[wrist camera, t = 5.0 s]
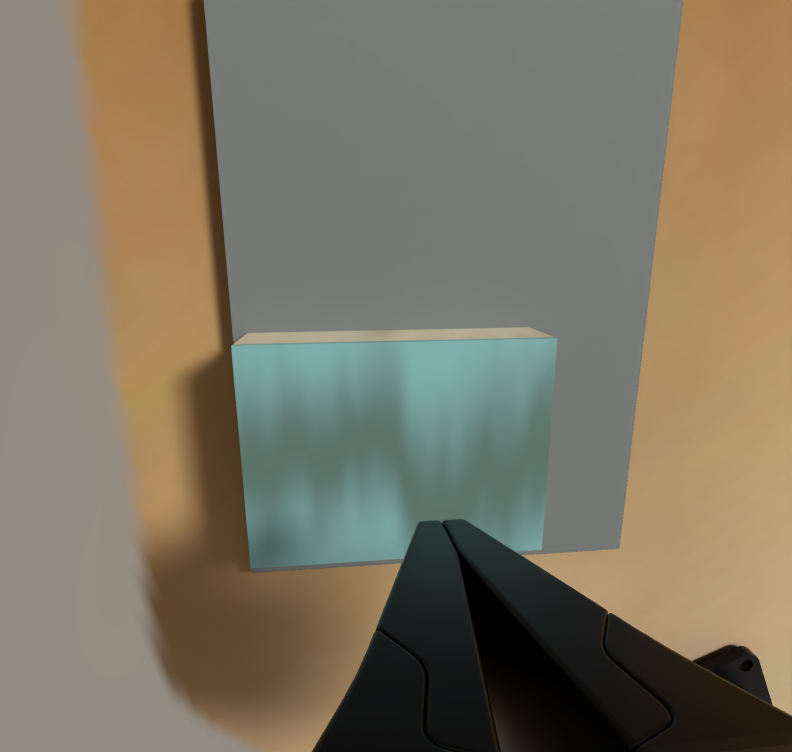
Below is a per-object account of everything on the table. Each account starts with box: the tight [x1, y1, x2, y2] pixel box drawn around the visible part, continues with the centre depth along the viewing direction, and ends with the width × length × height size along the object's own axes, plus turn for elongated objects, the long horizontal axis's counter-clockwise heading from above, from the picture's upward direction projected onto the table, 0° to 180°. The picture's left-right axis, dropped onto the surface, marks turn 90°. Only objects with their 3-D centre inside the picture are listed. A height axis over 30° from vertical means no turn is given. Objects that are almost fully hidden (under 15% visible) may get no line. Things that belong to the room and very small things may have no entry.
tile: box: [231, 327, 557, 569], centre depth 14 cm, size 6×2×8 cm
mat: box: [204, 0, 683, 573], centre depth 14 cm, size 16×12×1 cm
